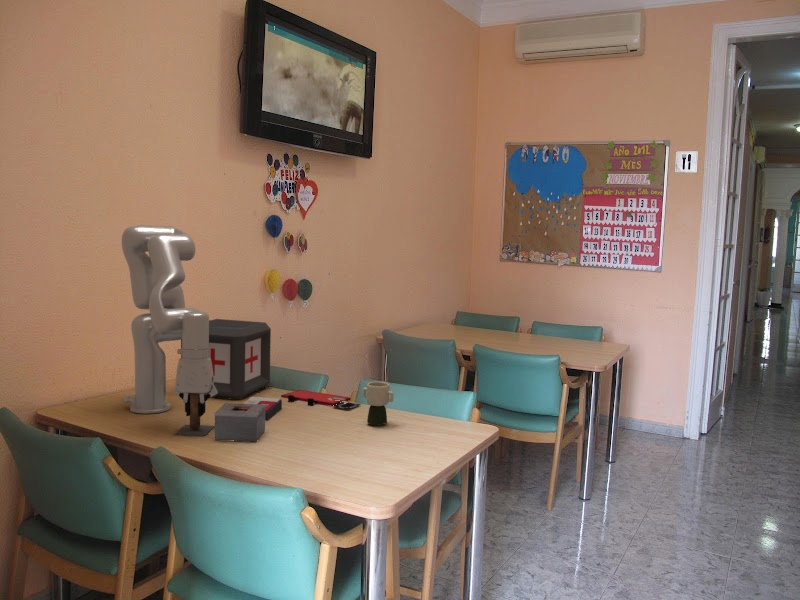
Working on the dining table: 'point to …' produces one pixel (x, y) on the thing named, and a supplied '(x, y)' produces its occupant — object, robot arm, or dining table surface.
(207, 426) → the rest pad
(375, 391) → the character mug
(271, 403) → the calculator
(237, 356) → the first aid kit
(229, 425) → the guard box
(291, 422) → the dining table surface
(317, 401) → the red board with handle
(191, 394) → the brown cylinder
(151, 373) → the robot arm
